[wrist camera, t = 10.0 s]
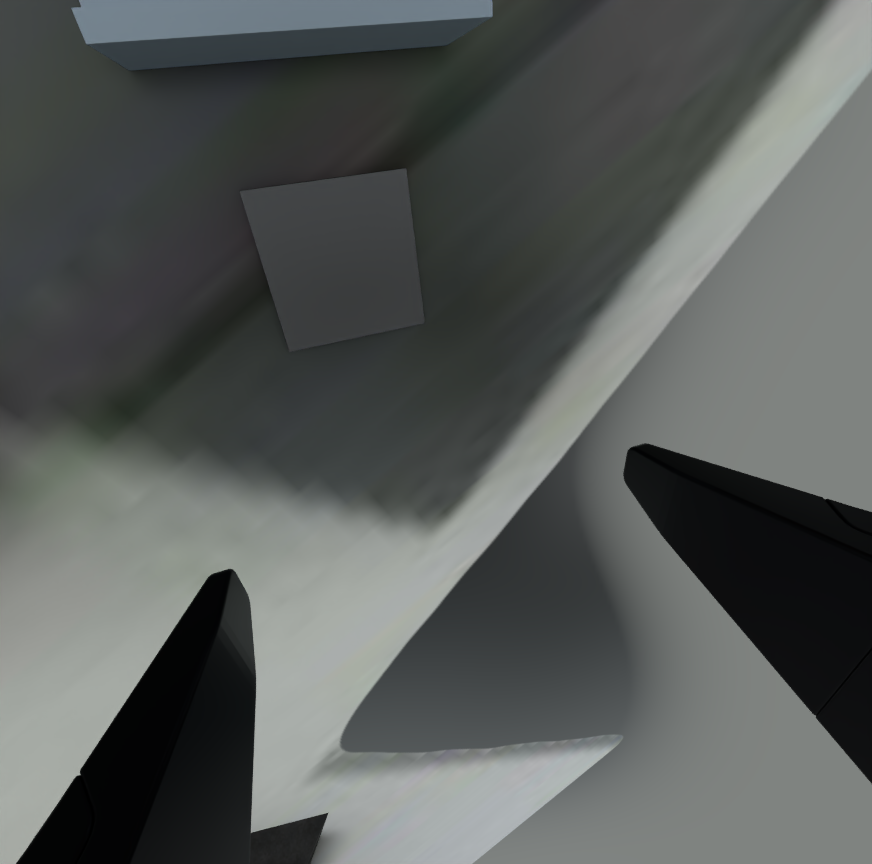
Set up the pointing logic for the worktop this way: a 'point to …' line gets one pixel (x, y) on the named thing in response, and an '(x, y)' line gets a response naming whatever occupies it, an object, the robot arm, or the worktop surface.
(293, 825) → the juicer
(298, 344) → the tee mat
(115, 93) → the worktop surface
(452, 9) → the staircase
